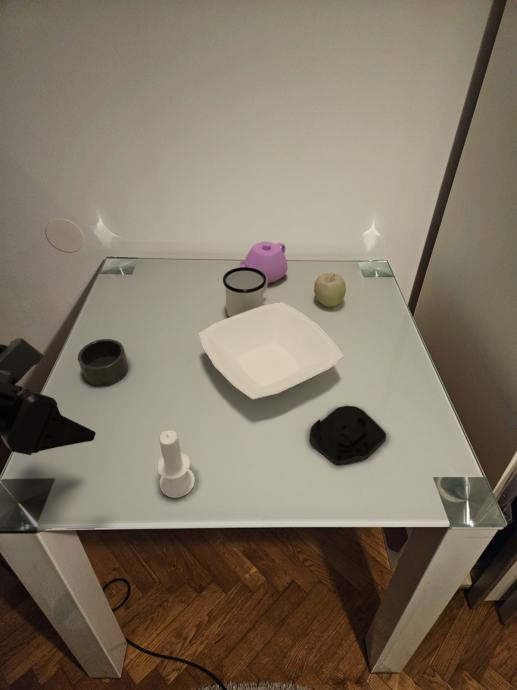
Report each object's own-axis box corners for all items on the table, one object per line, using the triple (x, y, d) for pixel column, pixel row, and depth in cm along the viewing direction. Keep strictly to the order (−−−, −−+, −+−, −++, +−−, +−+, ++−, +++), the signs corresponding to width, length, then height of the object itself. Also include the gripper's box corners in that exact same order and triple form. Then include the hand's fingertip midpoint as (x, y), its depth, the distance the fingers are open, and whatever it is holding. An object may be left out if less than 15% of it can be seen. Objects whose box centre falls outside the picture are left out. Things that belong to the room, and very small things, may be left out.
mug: (246, 330, 95) (245, 296, 89) (215, 312, 99) (213, 278, 93) (280, 306, 101) (282, 272, 95) (250, 290, 106) (250, 257, 100)
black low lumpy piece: (346, 401, 80) (350, 383, 76) (392, 434, 74) (398, 415, 71) (301, 437, 74) (304, 419, 70) (348, 476, 68) (352, 458, 65)
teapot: (298, 275, 111) (301, 242, 105) (254, 297, 104) (255, 263, 98) (270, 259, 117) (271, 227, 111) (227, 279, 110) (225, 246, 103)
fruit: (350, 302, 103) (355, 273, 98) (331, 315, 99) (335, 286, 94) (325, 289, 107) (329, 260, 102) (305, 301, 103) (308, 272, 98)
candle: (153, 480, 67) (140, 432, 59) (182, 461, 70) (174, 412, 62) (171, 504, 64) (160, 458, 56) (201, 484, 67) (195, 436, 59)
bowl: (190, 353, 89) (188, 332, 85) (283, 317, 98) (285, 296, 95) (247, 428, 75) (247, 407, 71) (350, 377, 84) (354, 356, 80)
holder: (83, 389, 81) (77, 372, 78) (84, 359, 87) (78, 343, 84) (129, 381, 83) (125, 364, 80) (127, 352, 89) (122, 335, 86)
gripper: (-10, 325, 42) (133, 376, 52) (-33, 329, 57) (82, 368, 66) (-61, 437, 40) (98, 470, 49) (-72, 412, 54) (53, 441, 63)
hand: (82, 430), depth 57 cm, fingers open, 9 cm apart
